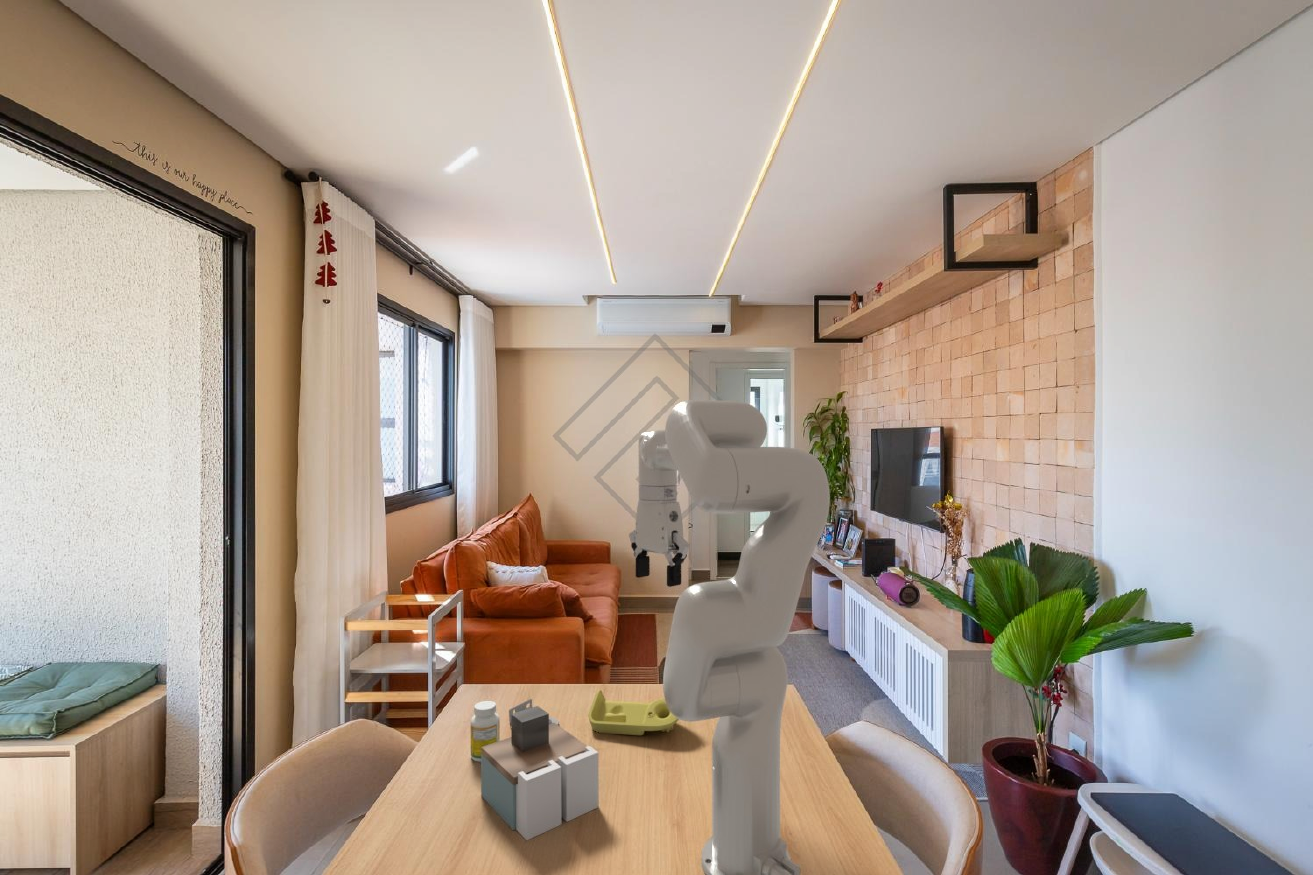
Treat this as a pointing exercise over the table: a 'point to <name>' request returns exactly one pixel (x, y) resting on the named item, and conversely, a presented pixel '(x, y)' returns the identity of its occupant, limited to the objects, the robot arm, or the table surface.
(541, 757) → the door
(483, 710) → the supplement bottle
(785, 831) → the table surface
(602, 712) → the plastic component
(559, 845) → the table surface
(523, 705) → the bracket
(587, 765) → the cabinet
